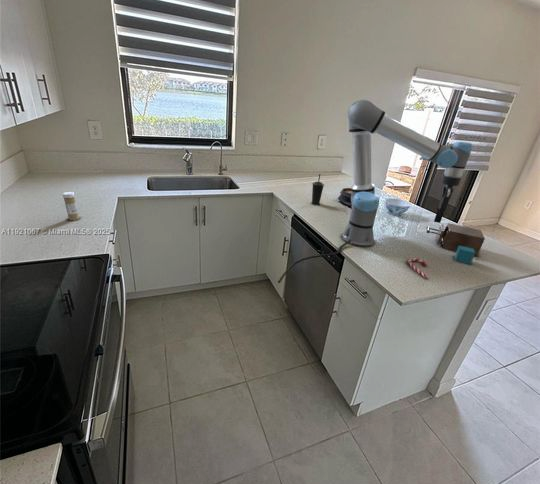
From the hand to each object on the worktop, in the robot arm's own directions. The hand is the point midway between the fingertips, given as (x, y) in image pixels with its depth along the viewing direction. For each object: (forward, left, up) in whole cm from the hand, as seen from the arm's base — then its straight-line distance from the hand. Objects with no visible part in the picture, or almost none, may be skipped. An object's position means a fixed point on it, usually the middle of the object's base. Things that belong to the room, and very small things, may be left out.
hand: (437, 221), depth 146 cm
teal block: (-15, -13, -11) cm, 23 cm away
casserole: (+37, +49, -11) cm, 62 cm away
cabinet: (0, -13, -11) cm, 17 cm away
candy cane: (-35, +5, -11) cm, 37 cm away
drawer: (0, -6, -10) cm, 12 cm away
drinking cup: (+19, +69, -11) cm, 72 cm away
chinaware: (+33, +20, -11) cm, 40 cm away
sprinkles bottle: (-81, +163, -11) cm, 182 cm away
